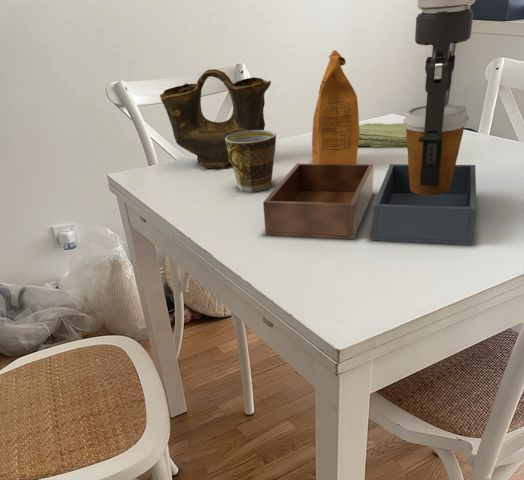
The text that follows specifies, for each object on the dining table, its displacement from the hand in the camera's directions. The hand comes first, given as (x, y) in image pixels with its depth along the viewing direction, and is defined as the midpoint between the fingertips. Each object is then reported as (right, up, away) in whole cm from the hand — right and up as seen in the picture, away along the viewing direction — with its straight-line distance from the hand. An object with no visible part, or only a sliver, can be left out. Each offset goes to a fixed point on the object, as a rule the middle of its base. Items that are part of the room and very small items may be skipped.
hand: (430, 175), depth 87 cm
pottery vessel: (-36, +16, +41) cm, 57 cm away
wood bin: (-16, -4, +9) cm, 19 cm away
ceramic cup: (-29, +5, +23) cm, 38 cm away
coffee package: (-11, +13, +33) cm, 37 cm away
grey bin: (0, -6, +4) cm, 7 cm away
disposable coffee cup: (0, -2, +1) cm, 2 cm away
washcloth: (+4, +23, +46) cm, 52 cm away
